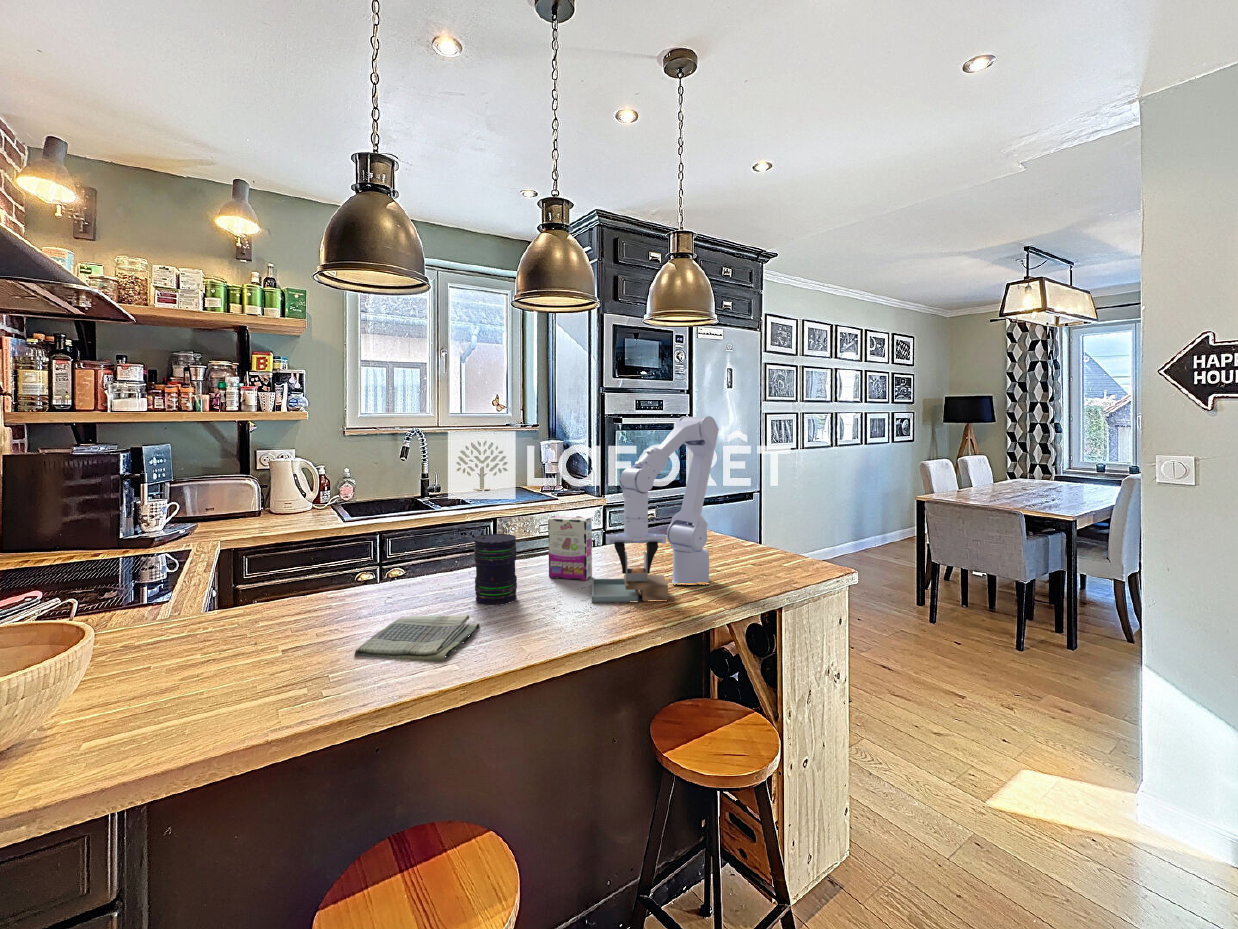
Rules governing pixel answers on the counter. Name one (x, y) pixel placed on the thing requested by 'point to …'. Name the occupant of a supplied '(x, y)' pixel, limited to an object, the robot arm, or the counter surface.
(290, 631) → the counter surface
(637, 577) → the sleeve
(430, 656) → the dish towel
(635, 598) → the tray
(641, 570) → the ball
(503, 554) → the storage jar
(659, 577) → the stand
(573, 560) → the candy bar box
